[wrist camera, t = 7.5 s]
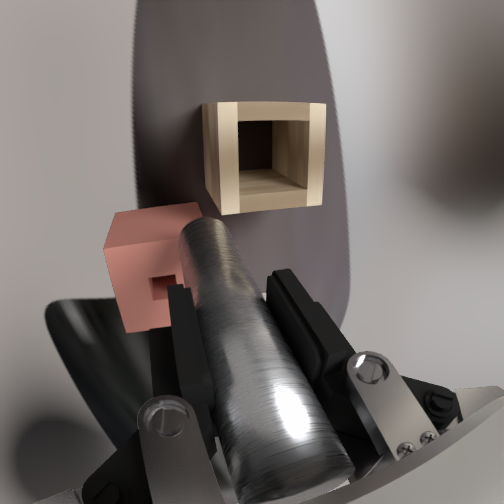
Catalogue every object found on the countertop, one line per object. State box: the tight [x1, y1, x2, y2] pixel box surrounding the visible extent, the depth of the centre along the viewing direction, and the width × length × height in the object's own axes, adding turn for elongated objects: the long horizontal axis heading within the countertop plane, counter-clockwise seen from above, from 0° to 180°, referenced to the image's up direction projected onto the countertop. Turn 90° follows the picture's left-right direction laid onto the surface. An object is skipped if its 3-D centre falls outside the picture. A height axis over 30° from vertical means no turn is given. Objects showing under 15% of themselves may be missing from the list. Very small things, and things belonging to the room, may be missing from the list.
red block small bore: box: [103, 202, 203, 333], centre depth 20 cm, size 6×6×6 cm
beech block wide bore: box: [202, 102, 326, 215], centre depth 19 cm, size 6×6×6 cm
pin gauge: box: [178, 217, 355, 504], centre depth 10 cm, size 3×3×12 cm
